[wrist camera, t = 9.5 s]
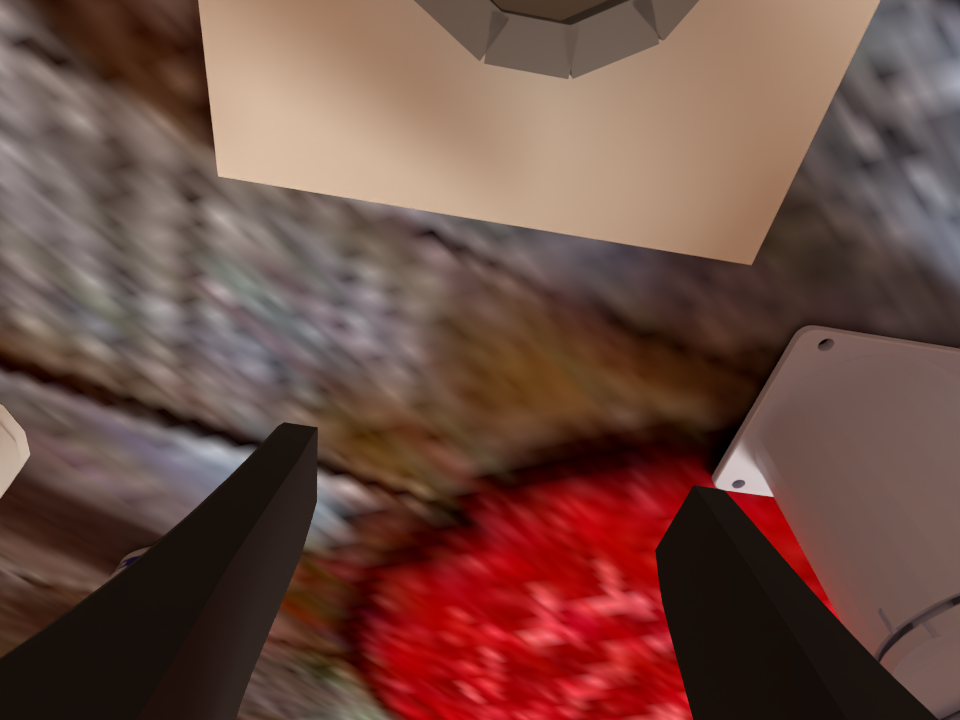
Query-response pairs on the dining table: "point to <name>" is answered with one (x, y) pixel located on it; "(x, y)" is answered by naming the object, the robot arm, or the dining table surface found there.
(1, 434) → the foam cup
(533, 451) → the dining table surface
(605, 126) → the socket plate
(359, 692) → the dining table surface
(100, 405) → the dining table surface
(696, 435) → the dining table surface
